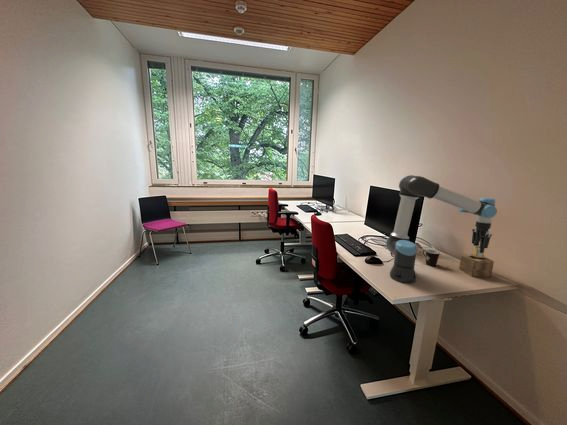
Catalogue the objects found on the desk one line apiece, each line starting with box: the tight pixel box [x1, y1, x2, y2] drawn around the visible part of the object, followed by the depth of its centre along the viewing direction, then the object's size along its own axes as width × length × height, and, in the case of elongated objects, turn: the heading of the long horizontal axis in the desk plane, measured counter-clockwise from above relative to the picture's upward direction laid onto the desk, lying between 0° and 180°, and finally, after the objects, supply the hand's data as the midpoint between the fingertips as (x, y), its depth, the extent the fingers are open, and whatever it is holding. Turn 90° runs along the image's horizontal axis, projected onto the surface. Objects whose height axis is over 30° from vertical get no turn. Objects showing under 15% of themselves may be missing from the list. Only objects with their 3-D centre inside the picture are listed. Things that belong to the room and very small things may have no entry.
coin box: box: [458, 253, 495, 278], centre depth 156 cm, size 12×12×11 cm
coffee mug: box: [422, 249, 440, 267], centre depth 170 cm, size 12×9×10 cm
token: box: [471, 246, 486, 258], centre depth 154 cm, size 5×3×6 cm, turn 86°
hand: (477, 256), depth 155 cm, fingers closed on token, 3 cm apart
